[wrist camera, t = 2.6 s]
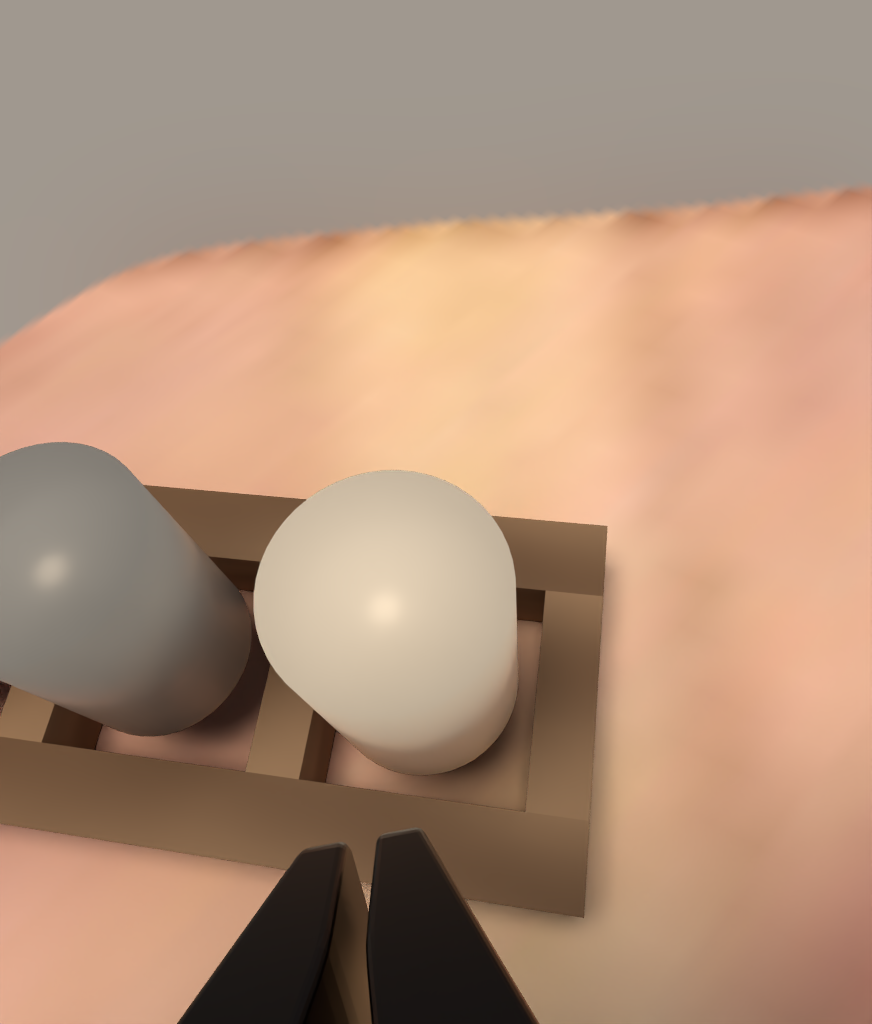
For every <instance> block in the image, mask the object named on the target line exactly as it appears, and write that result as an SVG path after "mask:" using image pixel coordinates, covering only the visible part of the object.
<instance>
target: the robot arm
mask: <svg viewBox="0 0 872 1024" xmlns="http://www.w3.org/2000/svg"><path fill="white" fill-rule="evenodd" d="M177 1024H539V1023H538V1021H537V1019H536V1018H535V1016H534V1014H533V1013H532V1011H531V1009H530V1008H529V1006H528V1004H527V1002H526V1001H525V999H524V997H523V996H522V994H521V992H520V991H519V989H518V987H517V986H516V984H515V982H514V981H513V979H512V977H511V976H510V974H509V972H508V971H507V969H506V967H505V966H504V964H503V962H502V961H501V959H500V957H499V956H498V954H497V952H496V951H495V949H494V947H493V946H492V944H491V942H490V941H489V939H488V937H487V936H486V934H485V932H484V930H483V929H482V927H481V925H480V924H479V922H478V920H477V919H476V917H475V915H474V914H473V912H472V910H471V909H470V907H469V905H468V904H467V902H466V900H465V899H464V897H463V895H462V894H461V892H460V890H459V889H458V887H457V885H456V884H455V882H454V880H453V879H452V877H451V875H450V874H449V872H448V870H447V869H446V867H445V865H444V863H443V862H442V860H441V858H440V857H439V855H438V853H437V852H436V850H435V848H434V847H433V845H432V843H431V842H430V840H429V838H428V837H427V835H426V833H425V832H424V831H423V830H422V829H420V828H410V829H405V830H400V831H394V832H389V833H384V834H382V835H381V836H380V837H379V838H378V839H377V842H376V848H375V857H374V867H373V876H372V885H371V895H370V904H369V912H368V908H367V904H366V901H365V897H364V894H363V890H362V886H361V883H360V879H359V876H358V872H357V868H356V865H355V861H354V857H353V854H352V851H351V849H350V847H349V846H348V845H347V844H346V843H343V842H337V843H332V844H326V845H321V846H316V847H311V848H307V849H304V850H303V851H302V852H301V853H299V855H298V856H297V857H296V858H295V860H294V861H293V863H292V864H291V865H290V867H289V868H288V870H287V871H286V872H285V874H284V875H283V877H282V878H281V879H280V881H279V882H278V884H277V885H276V886H275V888H274V889H273V891H272V892H271V893H270V895H269V896H268V898H267V899H266V900H265V902H264V903H263V905H262V906H261V907H260V909H259V910H258V911H257V913H256V914H255V916H254V917H253V918H252V920H251V921H250V923H249V924H248V925H247V927H246V928H245V930H244V931H243V932H242V934H241V935H240V937H239V938H238V939H237V941H236V942H235V944H234V945H233V946H232V948H231V949H230V951H229V952H228V953H227V955H226V956H225V958H224V959H223V960H222V962H221V963H220V964H219V966H218V967H217V969H216V970H215V971H214V973H213V974H212V976H211V977H210V978H209V980H208V981H207V983H206V984H205V985H204V987H203V988H202V990H201V991H200V992H199V994H198V995H197V997H196V998H195V999H194V1001H193V1002H192V1004H191V1005H190V1006H189V1008H188V1009H187V1011H186V1012H185V1013H184V1015H183V1016H182V1017H181V1019H180V1020H179V1022H178V1023H177Z"/></svg>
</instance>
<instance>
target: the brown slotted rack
mask: <svg viewBox="0 0 872 1024" xmlns="http://www.w3.org/2000/svg"><path fill="white" fill-rule="evenodd" d="M143 486H144V487H145V488H146V489H147V490H148V491H149V492H150V493H151V494H152V496H153V497H154V498H155V499H156V500H157V501H158V502H159V503H160V504H161V505H162V507H163V508H164V509H165V510H166V511H167V512H168V513H169V514H170V515H171V516H172V517H173V519H174V520H175V521H176V522H177V523H178V524H179V525H180V526H181V527H182V528H183V529H184V531H185V532H186V533H187V534H188V535H189V536H190V537H191V538H192V539H193V540H194V542H195V543H196V544H197V545H198V546H199V547H200V548H201V549H202V550H203V551H204V552H205V554H206V555H207V556H208V557H209V558H210V559H211V560H212V561H213V562H214V563H215V564H216V566H217V567H218V568H219V569H220V570H221V571H222V572H223V573H224V574H225V575H226V577H227V578H228V579H229V580H230V581H231V582H232V583H233V584H234V585H235V587H236V588H237V589H240V590H250V591H254V589H255V581H256V576H257V573H258V569H259V566H260V562H261V560H262V558H263V555H264V553H265V550H266V548H267V546H268V545H269V543H270V541H271V539H272V538H273V536H274V534H275V533H276V531H277V530H278V529H279V527H280V526H281V525H282V523H283V522H284V521H285V520H286V519H287V518H288V516H289V515H290V514H291V513H292V512H293V511H294V510H295V509H296V508H297V507H299V506H300V505H301V504H302V503H303V502H305V501H306V499H295V498H283V497H272V496H261V495H249V494H238V493H227V492H215V491H204V490H193V489H182V488H170V487H159V486H148V485H143ZM492 517H493V519H494V520H495V522H496V523H497V525H498V526H499V528H500V530H501V531H502V533H503V535H504V537H505V539H506V542H507V544H508V546H509V549H510V553H511V556H512V559H513V564H514V570H515V577H516V609H517V619H520V620H529V621H538V622H543V625H542V636H541V646H540V657H539V668H538V679H537V690H536V701H535V711H534V722H533V733H532V744H531V755H530V766H529V776H528V787H527V798H526V809H525V812H523V811H516V810H509V809H502V808H495V807H488V806H481V805H474V804H467V803H460V802H453V801H446V800H439V799H432V798H425V797H418V796H411V795H405V794H398V793H391V792H384V791H377V790H370V789H363V788H356V787H349V786H342V785H335V784H328V783H325V781H326V776H327V770H328V765H329V760H330V755H331V750H332V745H333V740H334V734H335V728H334V727H333V726H332V725H330V724H329V723H328V722H327V721H326V720H325V719H324V718H323V717H322V716H321V715H320V714H318V713H317V712H316V711H315V710H314V709H313V708H312V707H311V706H310V705H309V704H308V703H306V702H305V701H304V700H303V699H302V698H301V697H300V696H299V695H298V694H297V693H296V692H294V691H293V690H292V689H291V688H290V687H289V686H288V685H287V684H286V683H285V682H284V681H283V680H282V678H281V677H280V676H279V675H278V674H277V673H276V671H275V670H274V668H273V667H272V665H271V664H270V668H269V673H268V677H267V681H266V685H265V690H264V694H263V698H262V702H261V707H260V711H259V715H258V719H257V724H256V728H255V732H254V736H253V741H252V745H251V749H250V753H249V758H248V762H247V766H246V770H245V772H244V771H237V770H230V769H223V768H216V767H209V766H202V765H195V764H188V763H181V762H174V761H167V760H160V759H153V758H146V757H139V756H132V755H125V754H118V753H111V752H104V751H98V750H94V749H95V745H96V742H97V739H98V736H99V733H100V730H101V726H102V723H99V722H97V721H94V720H92V719H90V718H87V717H85V716H83V715H80V714H78V713H76V712H73V711H71V710H68V709H66V708H64V707H61V706H59V705H57V704H54V703H52V702H50V701H47V700H45V699H42V698H40V697H38V696H35V695H33V694H31V693H28V692H26V691H24V690H21V689H19V688H16V687H14V686H11V688H10V691H9V694H8V696H7V699H6V702H5V705H4V707H3V710H2V713H1V715H0V824H6V825H12V826H18V827H25V828H31V829H37V830H43V831H49V832H56V833H62V834H68V835H74V836H80V837H86V838H93V839H99V840H105V841H111V842H117V843H124V844H130V845H136V846H142V847H148V848H155V849H161V850H167V851H173V852H179V853H186V854H192V855H198V856H204V857H210V858H217V859H223V860H229V861H235V862H241V863H248V864H254V865H260V866H266V867H272V868H279V869H285V870H288V868H289V867H290V865H291V864H292V863H293V861H294V860H295V858H296V857H297V856H298V855H299V853H301V852H302V851H303V850H304V849H307V848H311V847H316V846H321V845H326V844H332V843H337V842H343V843H346V844H347V845H348V846H349V847H350V849H351V851H352V854H353V857H354V861H355V865H356V868H357V872H358V876H359V879H360V882H365V883H371V884H372V876H373V867H374V857H375V848H376V842H377V839H378V838H379V837H380V836H381V835H382V834H384V833H389V832H394V831H400V830H405V829H410V828H420V829H422V830H423V831H424V832H425V833H426V835H427V837H428V838H429V840H430V842H431V843H432V845H433V847H434V848H435V850H436V852H437V853H438V855H439V857H440V858H441V860H442V862H443V863H444V865H445V867H446V869H447V870H448V872H449V874H450V875H451V877H452V879H453V880H454V882H455V884H456V885H457V887H458V889H459V890H460V892H461V894H462V895H463V897H464V899H471V900H477V901H483V902H489V903H495V904H502V905H508V906H514V907H520V908H526V909H533V910H539V911H545V912H551V913H557V914H564V915H570V916H576V917H582V918H584V907H585V890H586V874H587V857H588V840H589V824H590V807H591V790H592V774H593V757H594V741H595V724H596V707H597V691H598V674H599V657H600V641H601V624H602V608H603V591H604V574H605V558H606V541H607V526H600V525H589V524H577V523H566V522H555V521H543V520H532V519H521V518H510V517H498V516H492Z"/></svg>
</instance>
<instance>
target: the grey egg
mask: <svg viewBox="0 0 872 1024" xmlns="http://www.w3.org/2000/svg"><path fill="white" fill-rule="evenodd" d="M251 641H252V626H251V619H250V614H249V611H248V607H247V605H246V603H245V601H244V598H243V597H242V595H241V593H240V592H239V590H238V589H237V588H236V587H235V585H234V584H233V583H232V582H231V581H230V580H229V579H228V578H227V577H226V575H225V574H224V573H223V572H222V571H221V570H220V569H219V568H218V567H217V566H216V564H215V563H214V562H213V561H212V560H211V559H210V558H209V557H208V556H207V555H206V554H205V552H204V551H203V550H202V549H201V548H200V547H199V546H198V545H197V544H196V543H195V542H194V540H193V539H192V538H191V537H190V536H189V535H188V534H187V533H186V532H185V531H184V529H183V528H182V527H181V526H180V525H179V524H178V523H177V522H176V521H175V520H174V519H173V517H172V516H171V515H170V514H169V513H168V512H167V511H166V510H165V509H164V508H163V507H162V505H161V504H160V503H159V502H158V501H157V500H156V499H155V498H154V497H153V496H152V494H151V493H150V492H149V491H148V490H147V489H146V488H145V487H144V486H143V485H142V484H141V482H140V481H139V480H138V479H137V478H136V477H135V476H134V475H133V474H132V473H131V472H130V470H129V469H128V468H127V467H126V466H125V465H124V464H122V463H121V462H120V461H119V460H118V459H116V458H115V457H113V456H111V455H110V454H108V453H106V452H104V451H102V450H99V449H97V448H94V447H91V446H87V445H83V444H78V443H68V442H54V443H44V444H37V445H33V446H29V447H25V448H21V449H18V450H16V451H13V452H10V453H7V454H5V455H3V456H1V457H0V681H2V682H5V683H7V684H9V685H12V686H14V687H16V688H19V689H21V690H24V691H26V692H28V693H31V694H33V695H35V696H38V697H40V698H42V699H45V700H47V701H50V702H52V703H54V704H57V705H59V706H61V707H64V708H66V709H68V710H71V711H73V712H76V713H78V714H80V715H83V716H85V717H87V718H90V719H92V720H94V721H97V722H99V723H102V724H104V725H106V726H109V727H111V728H113V729H116V730H118V731H121V732H124V733H127V734H131V735H137V736H161V735H167V734H171V733H175V732H178V731H181V730H183V729H186V728H188V727H190V726H192V725H194V724H196V723H198V722H200V721H201V720H202V719H204V718H205V717H207V716H208V715H210V714H211V713H212V712H213V711H214V710H215V709H217V708H218V707H219V706H220V705H221V704H222V703H223V702H224V701H225V699H226V698H227V697H228V696H229V695H230V693H231V692H232V691H233V689H234V688H235V686H236V685H237V683H238V681H239V679H240V678H241V676H242V674H243V671H244V669H245V666H246V664H247V661H248V657H249V653H250V648H251Z"/></svg>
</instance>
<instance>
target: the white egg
mask: <svg viewBox="0 0 872 1024" xmlns="http://www.w3.org/2000/svg"><path fill="white" fill-rule="evenodd" d="M254 618H255V625H256V630H257V633H258V637H259V640H260V643H261V646H262V648H263V650H264V652H265V655H266V657H267V659H268V660H269V662H270V663H271V665H272V667H273V668H274V670H275V671H276V673H277V674H278V675H279V676H280V677H281V678H282V680H283V681H284V682H285V683H286V684H287V685H288V686H289V687H290V688H291V689H292V690H293V691H294V692H296V693H297V694H298V695H299V696H300V697H301V698H302V699H303V700H304V701H305V702H306V703H308V704H309V705H310V706H311V707H312V708H313V709H314V710H315V711H316V712H317V713H318V714H320V715H321V716H322V717H323V718H324V719H325V720H326V721H327V722H328V723H329V724H330V725H332V726H333V727H334V728H335V729H336V730H337V731H338V732H339V733H340V734H341V735H342V736H344V737H345V738H346V739H347V740H348V741H349V742H350V743H351V744H352V745H353V746H354V747H356V748H357V749H358V750H359V751H360V752H361V753H362V754H363V755H365V756H366V757H367V758H369V759H370V760H372V761H373V762H375V763H376V764H378V765H380V766H383V767H385V768H387V769H389V770H393V771H396V772H399V773H404V774H410V775H433V774H440V773H444V772H448V771H452V770H454V769H457V768H459V767H461V766H464V765H466V764H467V763H469V762H471V761H473V760H474V759H476V758H477V757H478V756H480V755H481V754H482V753H484V752H485V751H486V750H487V749H488V748H489V747H490V746H491V745H492V744H493V743H494V742H495V741H496V739H497V738H498V737H499V735H500V734H501V733H502V732H503V730H504V728H505V726H506V725H507V723H508V721H509V719H510V716H511V714H512V711H513V709H514V705H515V702H516V698H517V691H518V645H517V609H516V577H515V570H514V564H513V559H512V556H511V553H510V549H509V546H508V544H507V542H506V539H505V537H504V535H503V533H502V531H501V530H500V528H499V526H498V525H497V523H496V522H495V520H494V519H493V517H492V516H491V515H490V514H489V513H488V512H487V510H486V509H485V508H484V507H483V506H482V505H481V504H480V503H479V502H478V501H476V500H475V499H474V498H473V497H472V496H470V495H469V494H468V493H466V492H465V491H463V490H462V489H460V488H459V487H457V486H455V485H453V484H451V483H449V482H447V481H445V480H442V479H439V478H436V477H434V476H431V475H427V474H422V473H418V472H412V471H402V470H383V471H375V472H368V473H363V474H359V475H355V476H351V477H349V478H346V479H343V480H341V481H338V482H336V483H334V484H332V485H330V486H328V487H326V488H324V489H322V490H320V491H319V492H317V493H316V494H314V495H313V496H311V497H310V498H308V499H307V500H306V501H305V502H303V503H302V504H301V505H300V506H299V507H297V508H296V509H295V510H294V511H293V512H292V513H291V514H290V515H289V516H288V518H287V519H286V520H285V521H284V522H283V523H282V525H281V526H280V527H279V529H278V530H277V531H276V533H275V534H274V536H273V538H272V539H271V541H270V543H269V545H268V546H267V548H266V550H265V553H264V555H263V558H262V560H261V562H260V566H259V569H258V573H257V576H256V581H255V589H254Z"/></svg>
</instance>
